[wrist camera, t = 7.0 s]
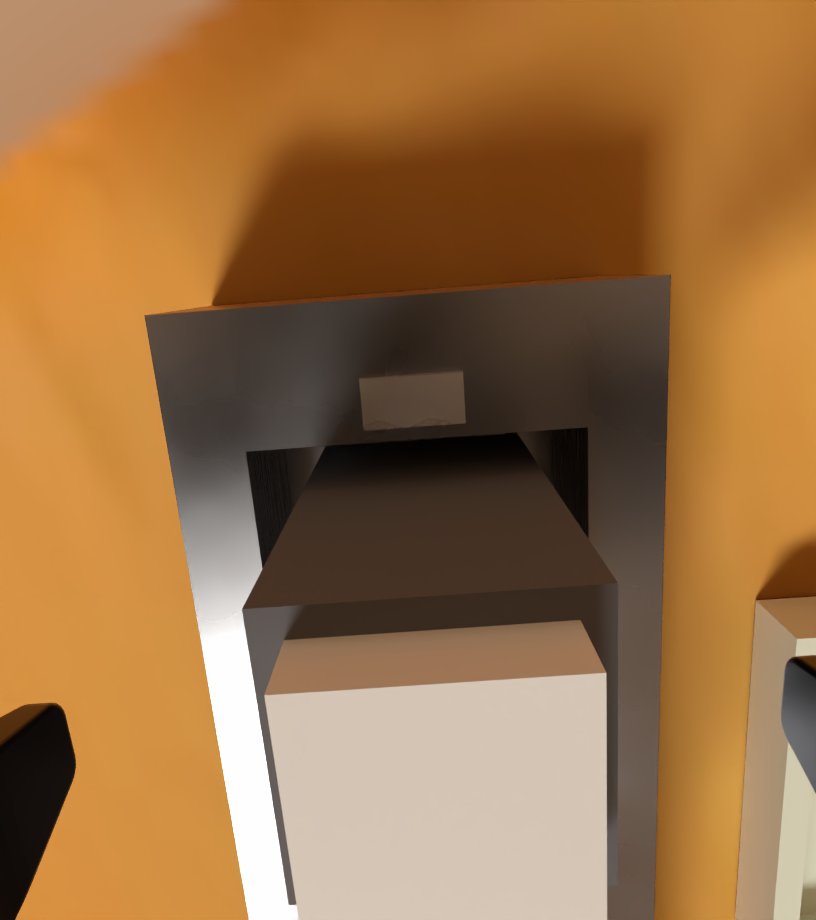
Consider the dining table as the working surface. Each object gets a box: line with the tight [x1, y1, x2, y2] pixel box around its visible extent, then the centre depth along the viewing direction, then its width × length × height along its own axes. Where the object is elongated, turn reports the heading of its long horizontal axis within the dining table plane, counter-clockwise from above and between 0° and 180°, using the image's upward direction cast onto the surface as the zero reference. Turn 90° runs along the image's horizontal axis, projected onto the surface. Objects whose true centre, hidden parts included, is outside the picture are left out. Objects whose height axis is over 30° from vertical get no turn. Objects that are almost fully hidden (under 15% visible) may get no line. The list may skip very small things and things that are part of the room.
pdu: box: [145, 275, 671, 920], centre depth 12 cm, size 8×20×8 cm, turn 4°
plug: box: [242, 434, 618, 920], centre depth 11 cm, size 4×4×8 cm
